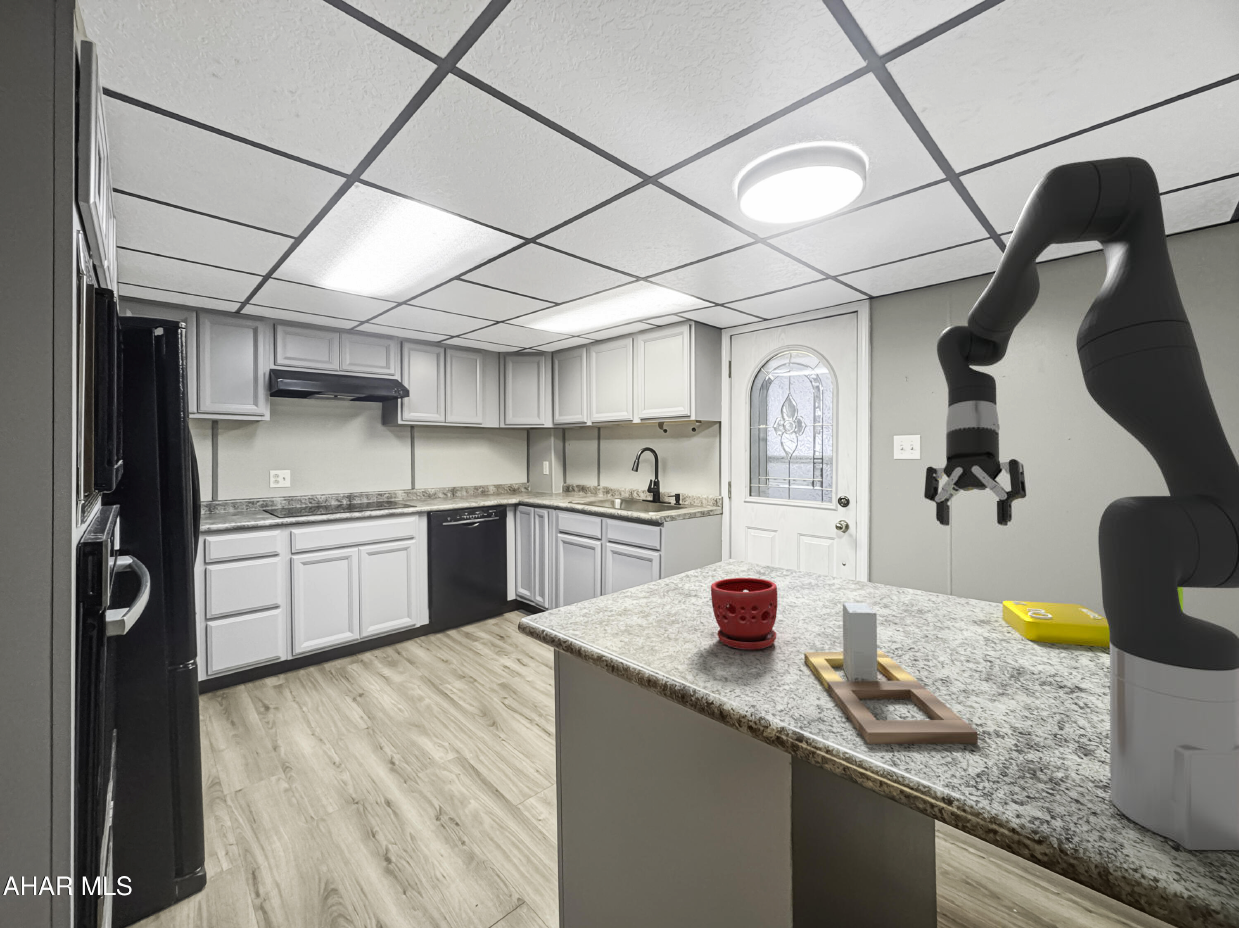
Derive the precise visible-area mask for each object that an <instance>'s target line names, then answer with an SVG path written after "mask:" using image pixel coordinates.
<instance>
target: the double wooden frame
mask: <svg viewBox="0 0 1239 928" xmlns="http://www.w3.org/2000/svg"><path fill="white" fill-rule="evenodd" d="M803 653H804V654H803V656H804V657H803V659H804V660H803V661H804V662H805V663H806V664H807V666H808V667H809V668H810V669H811V671H812V673H814V675H815V676H816V678H817V679H818V680H819V681H820V683H821V684H822V685H823V686H824V688H825V689H826V690H827V692H828V693H829V694H830V696H831V697H832V698H833V700H834V701H835V703H837V705H838V706H839V708H840V709H841V710H842V711H843V713H844V714H845V716H846V717H847V719H848V720H849V721H851V723H852V725H853V726H854V727H855V728H856V730H857V731H858V732H859V734H860V735H861V736H862V737H863V739H864V740H865V742H866V743H867V744H868V745H870V744H871V745H872V744H874V745H876V744H878V745H879V744H880V745H881V744H882V745H886V744H888V745H889V744H892V745H893V744H894V745H895V744H903V745H904V744H911V745H912V744H913V745H914V744H921V745H923V744H926V745H927V744H929V745H930V744H979V742H978V741H979V740H978V736H979V734H978V731H977V729H975V728H973V727H972V726H971V725H970V724H969V723H967V722H966V721H965V720H964V719H962V717H960V716H959V715H958V714H957V713H956V712H955V711H953V710H952V709H951V708H950V707H949V706H947V705H946V704H945V703H944V702H943V701H942V700H940V699H939V698H938V697H937V696H936V695H935V694H933V693H932V692H931V691H930V690H929V689H928V688H926V687H925V686H923V685H922V684H921V682H920V681H918V680H917V679H916V678H914V677H913V676H912V675H911V674H909V672H908V671H907V670H905V669H904V668H903V667H901V666H900V665H899V664H898V663H897V662H896V661H894V660H893V659H892V658H890V656H888V655H887V654H886V653H885V652H883V651H881V650H877V670H879V672H881V673H882V674H883V675H884V676H885V677H886V678H888V679H889V680H878V681H849V680H847V681H846V680H843V679H842V678H841V677H840V675H839V674H838V673H837V672H836V671H835V670H834V669H833V668H838V667H839V668H840V667H841V668H842V667H843V651H804V652H803ZM861 700H911V701H912V702H913V703H914V704H915V705H916V706H917V707H919V708H920V709H921V710H922V711H923V712H924V713H925V714H926V715H927V716H928V717H929V718H930V719H923V720H922V719H916V720H915V719H914V720H913V719H912V720H909V719H908V720H905V719H904V720H903V719H900V720H898V719H897V720H894V719H893V720H891V719H886V720H880V719H879V720H878V719H876V717H875V716H874V715H873V714H872V713H871V712H870V710H869V709H868V708H867V707H866V706H865V705H864V703H863V702H862V701H861Z"/></svg>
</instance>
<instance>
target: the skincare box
mask: <svg viewBox="0 0 1239 928" xmlns="http://www.w3.org/2000/svg"><path fill="white" fill-rule="evenodd" d="M877 616H878V615H877V613H876V612H875V610H874V609H873V608H872V607H871V606H870V605H869V604H868V603H867V602H847V601H846V602H842V644H843V645H842V646H843V648H842V650H843V651H842V652H843V671H844V673H845V675H846V677H847V678H848V681H879V680H878V668H877V651H878V632H877V631H878V629H877V628H878V624H877V623H878V621H877Z"/></svg>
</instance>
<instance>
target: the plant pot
mask: <svg viewBox="0 0 1239 928" xmlns="http://www.w3.org/2000/svg"><path fill="white" fill-rule="evenodd" d="M710 596H711V597H710V598H711V605H712V611H713V615H714V618H715V621H716V623H717V625H718V627H719V629H718V631H717V638H718V639H719V641H721V642H722V643H723V644H724V645H726V646H728V647H729V648H733V649H734V648H735V649H739V650H749V651H751V650H752V651H753V650H761V649H765V648H767V647H770V646H771V645H772V644H774V642H775V641H776V640H777V635H778V634H777V632H776V631H775V630H774V629H773V628H774V626H775V623H776V621H777V620H776V619H777V614H778V613H777V612H778V587H777V584H776V583H775V582H774V581H772V580H768V579H762V578H755V577H754V578H753V577H733V578H732V577H731V578H724V579H721V580H717V581H715V582H713V583H711V586H710Z"/></svg>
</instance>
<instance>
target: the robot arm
mask: <svg viewBox="0 0 1239 928" xmlns="http://www.w3.org/2000/svg"><path fill="white" fill-rule="evenodd" d="M1164 221H1165V220H1164V213H1163V206H1162V198H1161V193H1160V188H1159V183H1158V179H1157V176H1156V173H1155V171H1154V169H1153V167H1152V166H1151V164H1150V163H1149V162H1148V161H1147V160H1146V159H1143V158H1141V157H1137V156H1120V157H1119V156H1117V157H1111V158H1103V159H1102V158H1101V159H1093V160H1084V161H1076V162H1071V163H1069V162H1068V163H1066V164H1061V165H1058V166H1056V167H1054V168H1052V169H1049V170H1048V171H1047V172H1046V173H1045V174H1044V176H1043V177H1042V178H1041V179H1040V180H1039V181H1038V183H1037V184H1036V185H1035V187H1034V188H1033V190H1032V192H1031V194H1030V195H1029V197H1028V199H1027V200H1026V202H1025V205H1024V207H1023V209H1022V211H1021V213H1020V216H1019V218H1018V220H1017V222H1016V224H1015V227H1014V230H1013V231H1012V234H1011V236H1010V238H1009V240H1008V242H1007V245H1006V247H1005V249H1004V253H1003V254H1002V257H1001V258H1000V261H999V263H998V266H997V269H996V271H995V273H994V274H993V276H992V278H991V280H990V282H989V283H988V285H987V287H986V288H985V289H984V290H983V292H982V294H981V295H980V297H979V298H978V299H977V301H976V303H975V304H974V305H973V307H972V308H971V310H970V312H969V313H968V316H967V318H966V319H967V321H966V322H967V325H958V324H957V325H952V326H949V327H947V328H945V329H944V331H942V333H941V334H940V335H939V337H938V339H937V342H936V343H937V344H936V354H937V358H938V361H939V365H940V367H941V369H942V373H943V376H944V379H945V382H946V385H947V403H948V404H947V416H946V433H945V441H946V442H945V443H946V444H945V456H946V457H945V458H946V463H945V466H944V467H933V466H927V467H926V472H925V483H924V493H923V497H924V499H927V500H929V501H931V502H933V503H935V519H936V521H937V522H939V524H940V525H942V526H944V527H949V526H950V522H951V521H950V519H951V518H950V517H951V515H950V514H951V513H950V504H949V503H950V502H951V501H952V500H953V498H954V497H955V496H957V495H958V494H960V492H961V491H964V492H969V491H973V490H977V491H985V490H986V489H989V490H990V491H991V492H993V494H994V495H995V496H996V497H997V498H998V500H996V523H997V524H998V525H999V526H1003V527H1005V526H1008V524H1009V523H1011V522H1012V519H1013V510H1012V507H1013V506H1012V504H1013V502H1015V501H1016V500H1019V499H1021V500H1023V499H1024V498H1026V497H1027V488H1026V486H1027V485H1026V479H1025V477H1026V476H1025V469H1024V464H1023V463H1022V462H1021V461H1019V460H1017V459H1016V458H1012V459H1009V461H1005V462H1001V461H1000V423H999V414H998V409H997V383H996V379H995V378H994V376H993V375H991V374H989V373H987V372H985V371H984V372H983V371H980V370H977V369H974V368H972V367H990V366H993V365H996V364H997V363H999V362H1000V361H1002V360H1003V359H1004V357H1005V355H1006V353H1007V352H1008V351H1007V350H1008V347H1009V343H1010V340H1011V338H1012V335H1013V332H1014V330H1015V328H1016V327H1017V326H1018V325H1019V324H1020V323H1021V321H1023V320H1024V318H1025V317H1026V316H1027V314H1028V313H1029V312H1030V310H1031V309H1032V308H1033V307H1034V305H1035V303H1036V302H1037V299H1038V297H1039V294H1040V289H1041V284H1040V283H1041V282H1040V277H1039V272H1038V268H1037V259H1038V257H1040V256H1041V254H1042V253H1043V252H1044V251H1045V250H1047V249H1048V248H1049V247H1050V246H1052V245H1061V244H1062V245H1063V244H1073V243H1074V244H1075V243H1082V242H1083V243H1084V242H1093V241H1094V242H1097V243H1099V244H1100V245H1101V247H1102V249H1103V250H1102V251H1103V252H1104V257H1105V262H1106V277H1105V279H1104V282H1103V284H1102V287H1101V288H1100V290H1099V292H1098V294H1097V295H1096V297H1095V299H1094V300H1093V302H1092V303H1091V305H1090V307H1089V308H1088V310H1087V311H1086V313H1085V315H1084V317H1083V319H1082V321H1081V323H1080V325H1079V329H1078V330H1077V334H1076V340H1075V341H1076V352H1077V354H1078V355H1077V357H1078V359H1079V365H1080V369H1081V372H1082V378H1083V381H1084V385H1085V388H1086V390H1087V392H1088V394H1089V395H1090V397H1091V398H1092V399H1093V400H1094V402H1095V403H1096V404H1097V405H1098V407H1100V409H1101V410H1102V411H1103V412H1105V414H1107V416H1109V417H1110V418H1111V419H1112V420H1113V421H1115V422H1116V424H1118V425H1120V426H1121V427H1122V428H1123V429H1124V430H1125V431H1126V432H1127V433H1129V434H1130V436H1132V437H1133V438H1135V440H1136V441H1138V442H1139V443H1140V444H1141V445H1142V446H1143V448H1145V450H1146V451H1147V452H1149V454H1150V456H1151V457H1152V458H1153V459H1154V461H1155V462H1156V464H1157V466H1158V468H1159V470H1160V473H1161V474H1162V477H1163V480H1164V481H1165V484H1166V486H1167V489H1168V493H1169V495H1139V496H1137V495H1136V496H1125V497H1121V498H1117V499H1115V500H1113V501H1112V502H1110V503H1109V504H1108V505H1107V507H1106V508H1105V509H1104V511H1103V513H1102V515H1101V518H1100V521H1099V526H1098V535H1097V536H1098V537H1097V542H1098V557H1099V568H1100V580H1101V581H1100V582H1101V597H1102V607H1103V611H1104V616H1105V618H1106V619H1107V622H1108V626H1109V632H1110V647H1109V743H1110V744H1109V748H1110V749H1109V750H1110V751H1109V753H1110V755H1109V761H1110V763H1109V764H1110V767H1109V769H1110V798H1111V802H1112V803H1113V805H1114V806H1115V807H1116V808H1117V809H1118V810H1119V811H1120V812H1121V813H1122V814H1124V815H1125V817H1128V818H1129V819H1130V820H1131V821H1133V822H1135V823H1137V824H1139V825H1140V826H1142V827H1144V828H1145V829H1148V830H1149V831H1151V832H1154V833H1156V834H1158V835H1161V836H1163V837H1165V838H1167V839H1170V840H1171V841H1172V840H1173V841H1174V842H1176V843H1178V844H1179V845H1180V846H1181V847H1183V848H1184V849H1186V850H1189V851H1190V850H1191V851H1239V637H1238V635H1237V634H1236V633H1234V632H1233V631H1232V630H1229V629H1228V628H1226V627H1223V626H1222V625H1219V624H1215V623H1213V622H1210V621H1208V620H1204V619H1201V618H1197V617H1195V616H1191V615H1189V614H1187V613H1185V612H1184V610H1183V611H1182V609H1181V606H1180V601H1179V595H1178V587H1183V588H1190V589H1191V588H1192V589H1193V588H1194V589H1195V588H1198V589H1199V588H1201V589H1203V588H1205V589H1239V463H1238V461H1237V459H1236V457H1235V454H1234V451H1233V450H1232V448H1231V446H1230V444H1229V441H1228V439H1227V437H1226V434H1225V432H1224V428H1223V426H1222V423H1221V420H1220V418H1219V415H1218V413H1217V409H1216V407H1215V403H1214V401H1213V398H1212V394H1211V392H1210V389H1209V386H1208V383H1207V380H1206V377H1205V373H1204V368H1203V363H1202V360H1201V356H1200V352H1199V348H1198V346H1197V342H1196V339H1195V336H1194V332H1193V329H1192V325H1191V323H1190V320H1189V318H1188V315H1187V313H1186V309H1185V307H1184V304H1183V302H1182V298H1181V295H1180V291H1179V288H1178V284H1177V280H1176V276H1175V272H1174V269H1173V266H1172V262H1171V261H1172V260H1171V258H1170V253H1169V250H1168V249H1169V248H1168V242H1167V236H1166V228H1165V227H1166V226H1165V222H1164ZM1003 470H1004V473H1006V475H1009V482H1010V483H1009V484H1010V490H1006V489H1005V488H1004V486H1002V485H1001V483H999V482H998V480H997V478H998V477H999V476H1000V475H1001V473H1002V472H1003ZM943 476H945V477H947V480H946V481H945V483H944V484H943V485H942V487H941V490H940V491H939V487H940V481H941V480H942V479H943Z"/></svg>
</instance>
